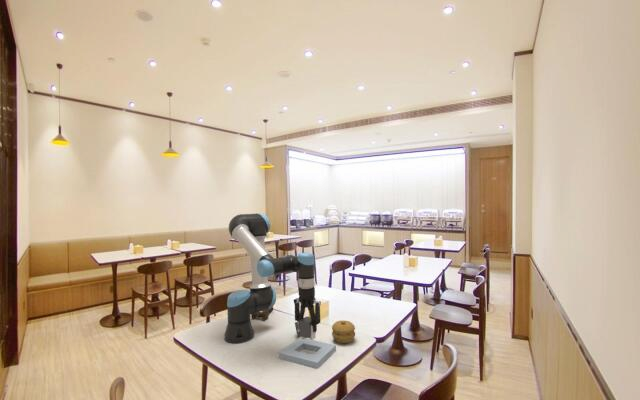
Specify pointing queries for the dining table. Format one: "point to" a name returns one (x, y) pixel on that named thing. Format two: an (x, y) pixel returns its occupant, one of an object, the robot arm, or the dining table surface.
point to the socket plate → (306, 359)
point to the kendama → (262, 314)
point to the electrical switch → (298, 329)
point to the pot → (343, 331)
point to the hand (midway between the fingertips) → (307, 337)
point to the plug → (305, 327)
